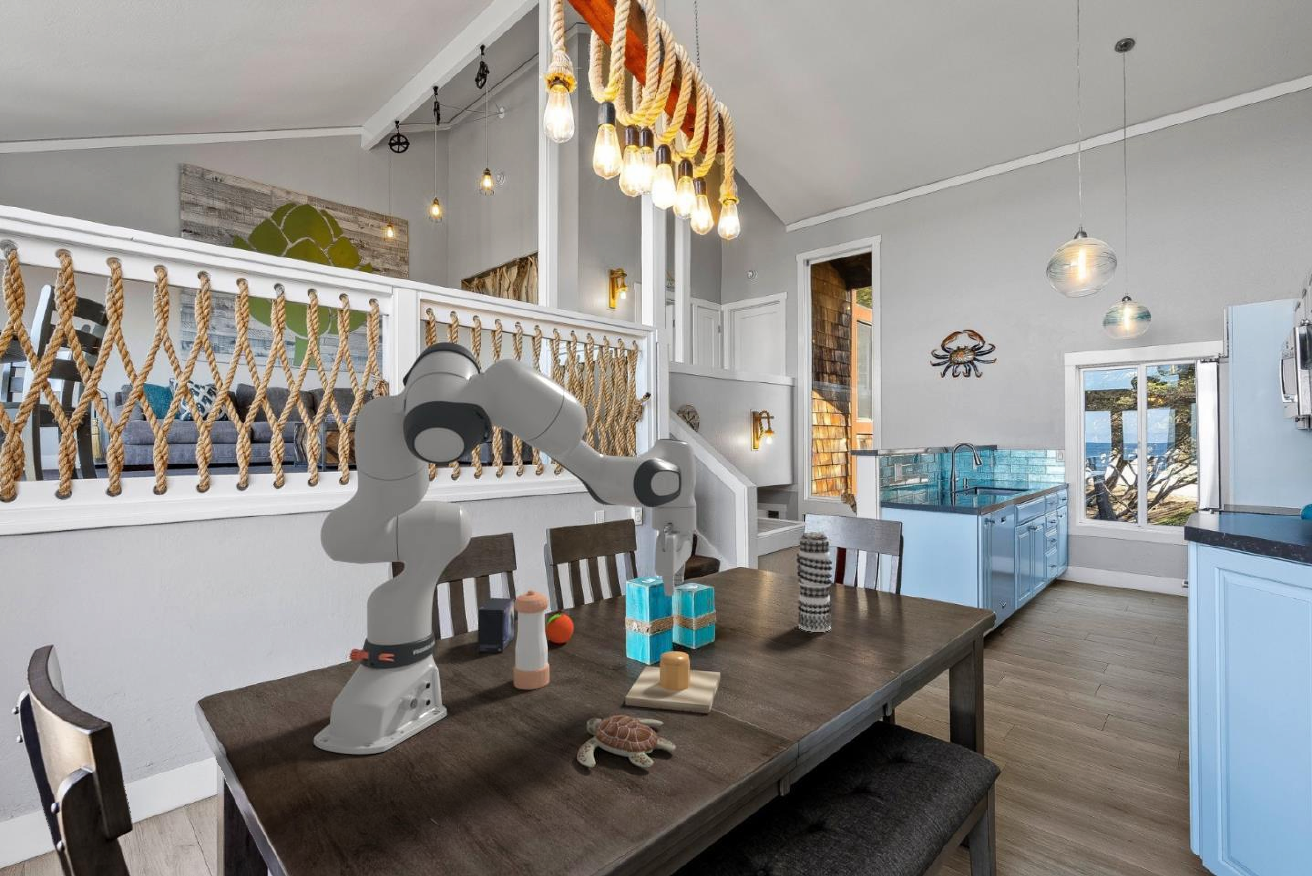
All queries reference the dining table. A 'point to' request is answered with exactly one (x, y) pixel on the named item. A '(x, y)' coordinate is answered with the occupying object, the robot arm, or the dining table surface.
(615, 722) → the decorative turtle
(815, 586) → the decorative candle
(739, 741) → the dining table surface
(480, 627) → the small box
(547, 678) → the salt shaker
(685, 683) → the tan rounded cylinder
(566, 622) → the clementine
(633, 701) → the square peg board
